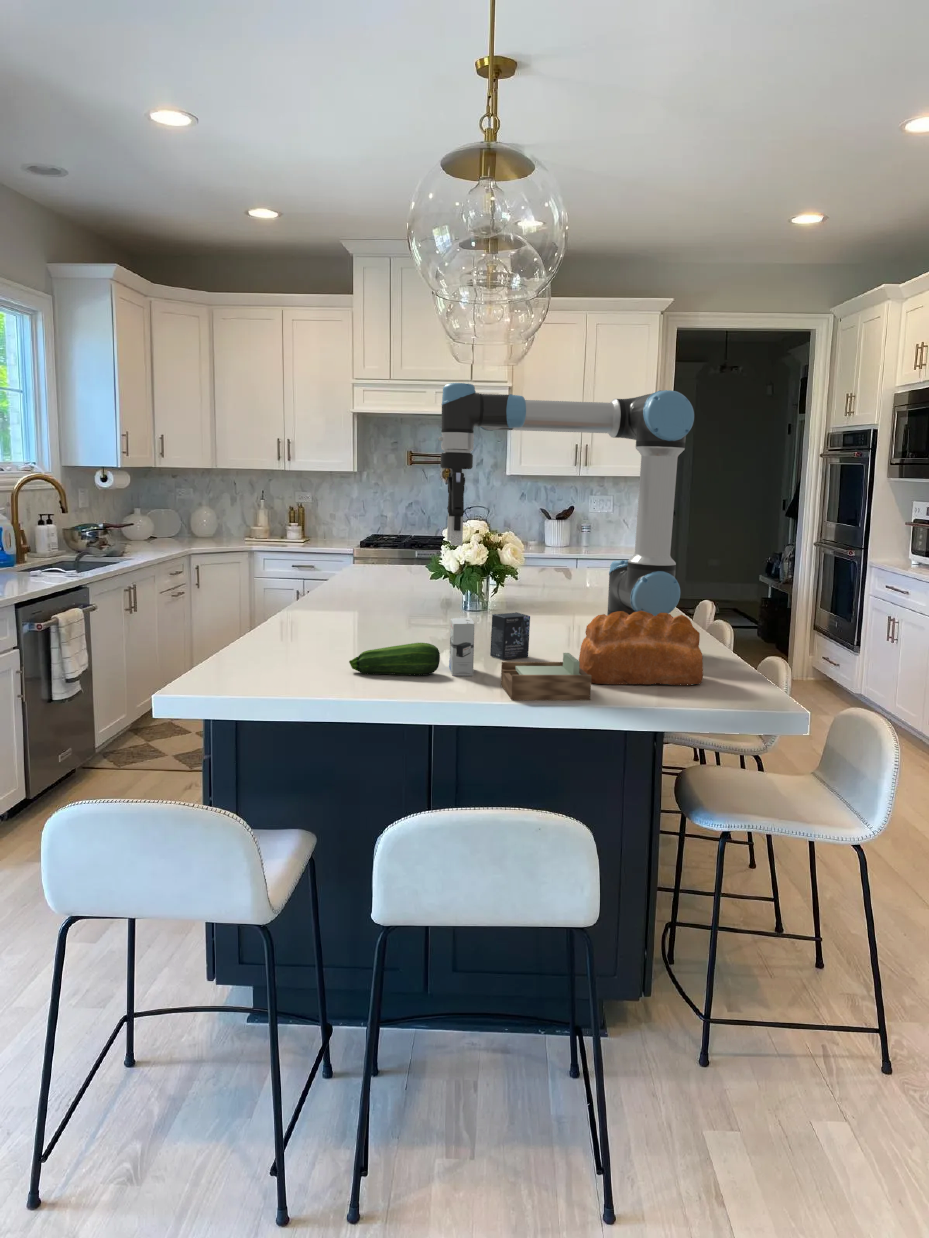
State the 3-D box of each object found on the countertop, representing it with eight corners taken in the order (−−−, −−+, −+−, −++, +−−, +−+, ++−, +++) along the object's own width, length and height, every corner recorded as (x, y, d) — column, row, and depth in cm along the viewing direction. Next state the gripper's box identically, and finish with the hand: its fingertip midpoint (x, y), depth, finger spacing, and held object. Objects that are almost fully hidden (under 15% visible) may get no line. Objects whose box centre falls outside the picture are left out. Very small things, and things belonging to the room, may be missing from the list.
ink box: (448, 667, 206) (450, 617, 204) (470, 668, 206) (471, 617, 204) (451, 676, 198) (452, 623, 196) (473, 676, 198) (475, 623, 196)
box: (503, 660, 216) (504, 617, 214) (489, 656, 221) (491, 613, 219) (529, 657, 220) (530, 615, 219) (515, 653, 225) (517, 611, 223)
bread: (707, 688, 194) (712, 617, 191) (585, 686, 192) (589, 614, 190) (687, 673, 208) (692, 607, 205) (574, 672, 206) (577, 605, 204)
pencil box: (574, 684, 193) (575, 661, 192) (590, 699, 180) (591, 675, 179) (500, 684, 191) (501, 661, 190) (511, 700, 178) (512, 675, 177)
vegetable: (440, 638, 195) (347, 637, 195) (439, 671, 193) (346, 669, 193) (440, 648, 202) (351, 647, 202) (439, 679, 200) (349, 678, 200)
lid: (571, 669, 191) (571, 652, 190) (583, 680, 180) (584, 662, 180) (515, 669, 189) (515, 651, 188) (524, 680, 179) (525, 662, 178)
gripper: (438, 452, 222) (436, 538, 225) (443, 450, 197) (441, 546, 200) (468, 453, 222) (466, 539, 225) (477, 451, 198) (474, 547, 201)
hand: (454, 543), depth 213 cm, fingers open, 13 cm apart
